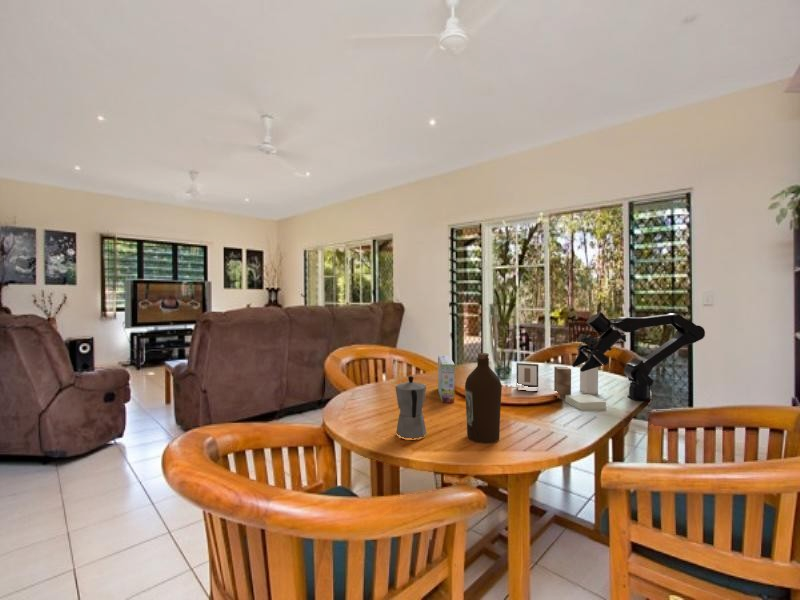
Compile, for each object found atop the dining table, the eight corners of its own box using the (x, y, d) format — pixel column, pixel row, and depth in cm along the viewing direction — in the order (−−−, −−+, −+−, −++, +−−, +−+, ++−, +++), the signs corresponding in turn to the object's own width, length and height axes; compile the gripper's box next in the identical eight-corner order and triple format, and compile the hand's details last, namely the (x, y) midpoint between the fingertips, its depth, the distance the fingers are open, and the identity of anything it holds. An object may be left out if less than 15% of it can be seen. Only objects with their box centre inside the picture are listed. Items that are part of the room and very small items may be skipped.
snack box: (455, 402, 151) (455, 364, 150) (441, 402, 151) (441, 364, 150) (449, 388, 172) (449, 354, 171) (437, 388, 172) (436, 354, 171)
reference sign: (516, 387, 173) (516, 362, 173) (538, 388, 170) (538, 363, 170) (516, 390, 168) (516, 364, 167) (538, 392, 165) (538, 365, 164)
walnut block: (566, 395, 159) (567, 366, 159) (570, 399, 154) (571, 369, 154) (554, 395, 160) (554, 366, 159) (557, 398, 155) (558, 368, 154)
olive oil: (496, 430, 121) (496, 350, 120) (505, 444, 110) (505, 356, 109) (462, 430, 121) (462, 350, 120) (468, 444, 110) (468, 356, 110)
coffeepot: (393, 428, 124) (393, 371, 123) (423, 426, 125) (422, 371, 124) (398, 447, 108) (398, 383, 108) (431, 446, 109) (431, 382, 109)
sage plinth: (589, 401, 152) (589, 394, 152) (605, 409, 142) (606, 401, 142) (565, 402, 151) (565, 395, 151) (579, 411, 141) (580, 402, 141)
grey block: (590, 390, 167) (591, 362, 167) (598, 393, 162) (598, 364, 162) (579, 390, 167) (580, 362, 166) (586, 393, 162) (586, 365, 161)
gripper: (582, 324, 164) (555, 350, 166) (600, 329, 146) (569, 358, 147) (601, 343, 164) (574, 369, 165) (622, 350, 145) (591, 379, 147)
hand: (576, 368), depth 156 cm, fingers open, 9 cm apart
